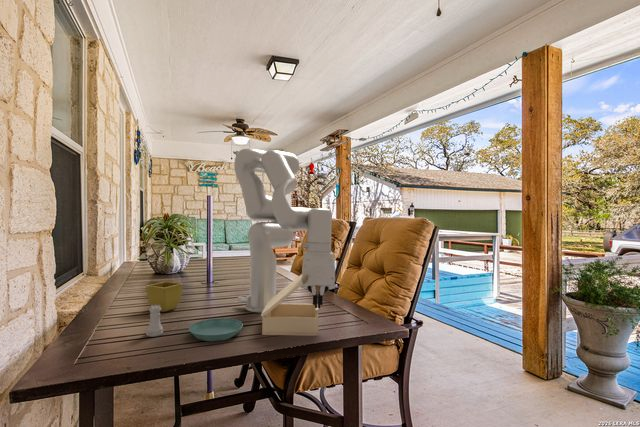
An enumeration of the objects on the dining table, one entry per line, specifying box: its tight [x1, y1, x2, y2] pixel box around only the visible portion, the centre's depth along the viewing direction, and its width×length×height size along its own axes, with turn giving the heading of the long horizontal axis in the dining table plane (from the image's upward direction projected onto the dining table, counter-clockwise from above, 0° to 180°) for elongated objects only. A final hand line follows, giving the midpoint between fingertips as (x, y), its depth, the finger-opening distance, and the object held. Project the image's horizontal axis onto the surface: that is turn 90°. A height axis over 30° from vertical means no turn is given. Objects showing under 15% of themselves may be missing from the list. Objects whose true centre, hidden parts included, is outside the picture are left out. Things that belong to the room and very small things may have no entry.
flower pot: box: [145, 281, 184, 313], centre depth 122 cm, size 9×9×9 cm
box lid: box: [260, 273, 308, 318], centre depth 107 cm, size 17×16×1 cm
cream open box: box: [261, 302, 319, 337], centre depth 107 cm, size 16×16×5 cm
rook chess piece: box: [145, 305, 164, 338], centre depth 97 cm, size 4×4×8 cm
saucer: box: [188, 317, 244, 342], centre depth 98 cm, size 15×15×3 cm
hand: (317, 307), depth 107 cm, fingers closed
